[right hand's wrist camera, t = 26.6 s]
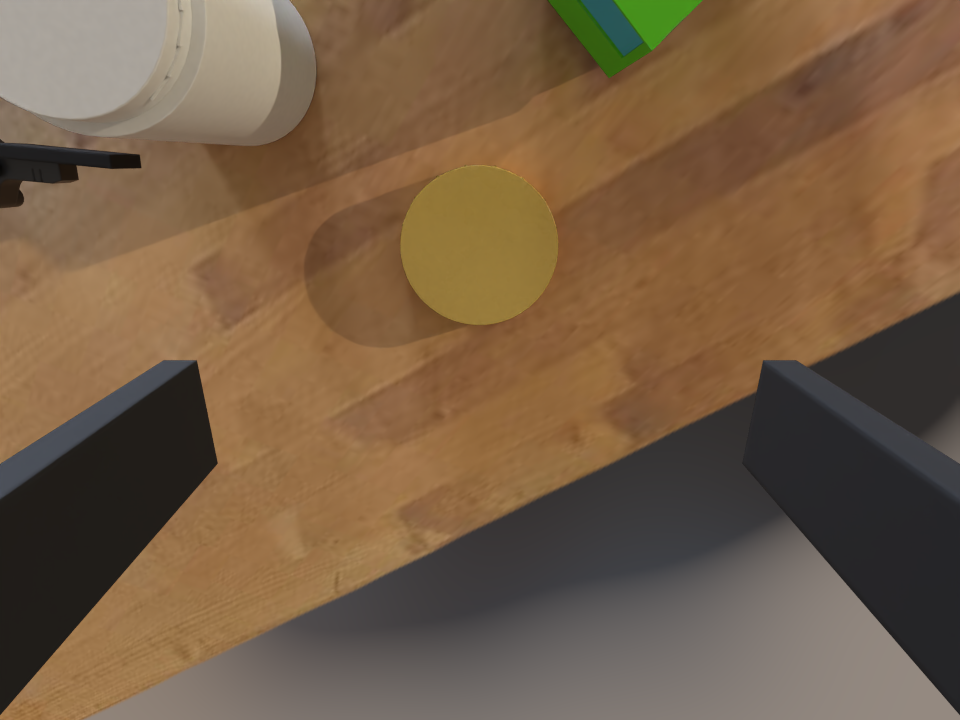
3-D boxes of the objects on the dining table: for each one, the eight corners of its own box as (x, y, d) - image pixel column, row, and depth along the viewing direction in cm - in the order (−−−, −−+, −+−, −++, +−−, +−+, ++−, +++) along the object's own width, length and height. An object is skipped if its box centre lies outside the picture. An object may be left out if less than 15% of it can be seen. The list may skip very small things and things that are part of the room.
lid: (412, 323, 40) (409, 331, 38) (393, 170, 36) (388, 171, 34) (556, 313, 40) (560, 320, 38) (552, 157, 36) (556, 157, 34)
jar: (309, -30, 32) (153, -203, 17) (323, 147, 36) (204, 138, 20) (143, -34, 32) (-165, -212, 17) (174, 144, 36) (-58, 132, 20)
